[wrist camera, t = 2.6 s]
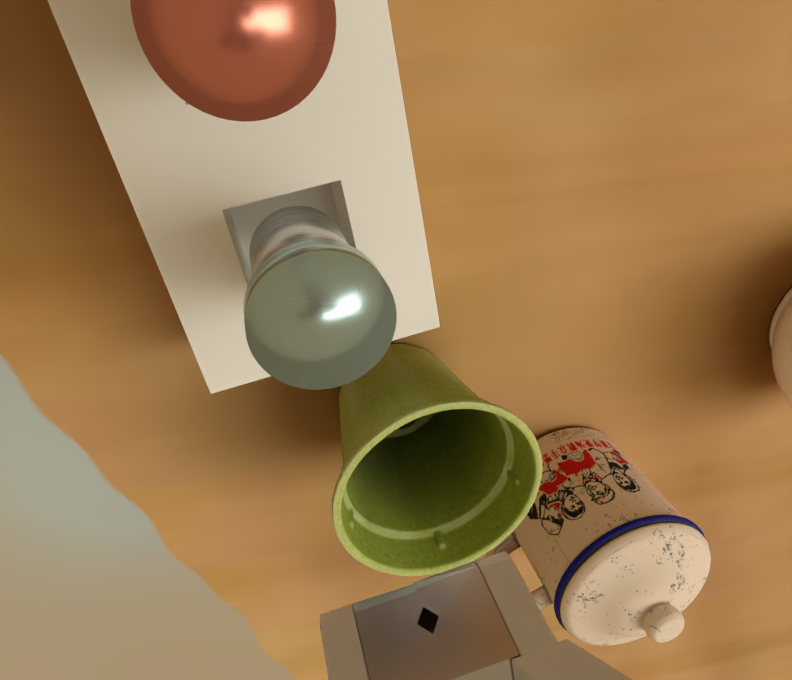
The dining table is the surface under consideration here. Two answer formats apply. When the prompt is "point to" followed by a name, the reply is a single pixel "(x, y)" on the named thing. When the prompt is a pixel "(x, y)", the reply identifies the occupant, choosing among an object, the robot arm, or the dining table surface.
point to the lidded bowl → (782, 345)
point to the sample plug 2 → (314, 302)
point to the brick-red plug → (238, 51)
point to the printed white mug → (607, 544)
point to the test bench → (257, 172)
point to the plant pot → (428, 468)
